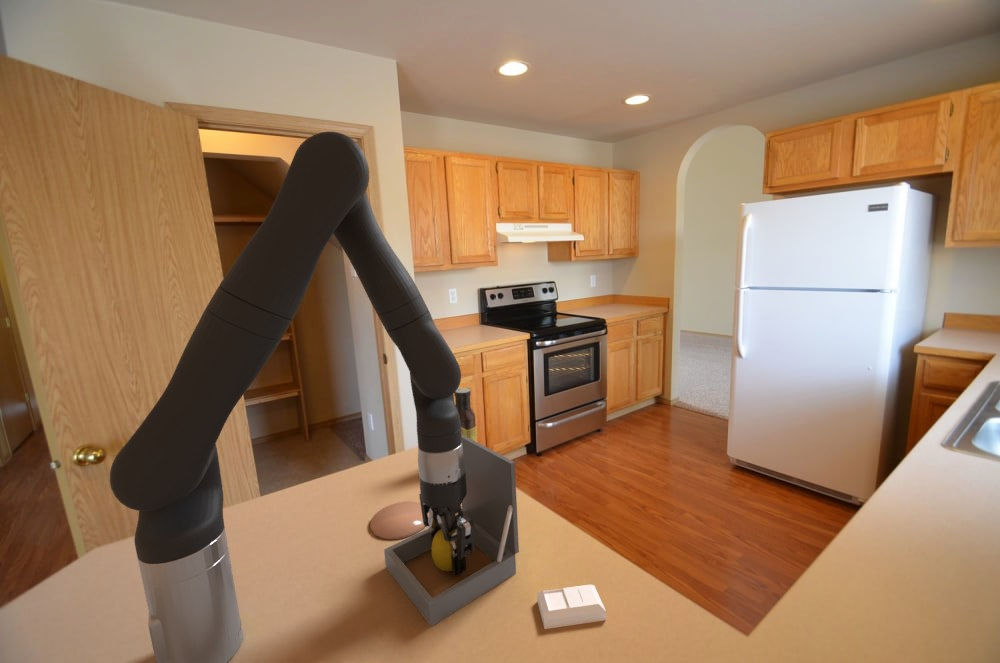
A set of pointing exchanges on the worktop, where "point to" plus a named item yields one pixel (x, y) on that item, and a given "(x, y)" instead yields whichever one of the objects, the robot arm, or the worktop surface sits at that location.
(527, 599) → the worktop surface
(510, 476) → the case
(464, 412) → the sauce bottle
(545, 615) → the white rocker switch
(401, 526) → the saucer
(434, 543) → the lemon
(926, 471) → the worktop surface
